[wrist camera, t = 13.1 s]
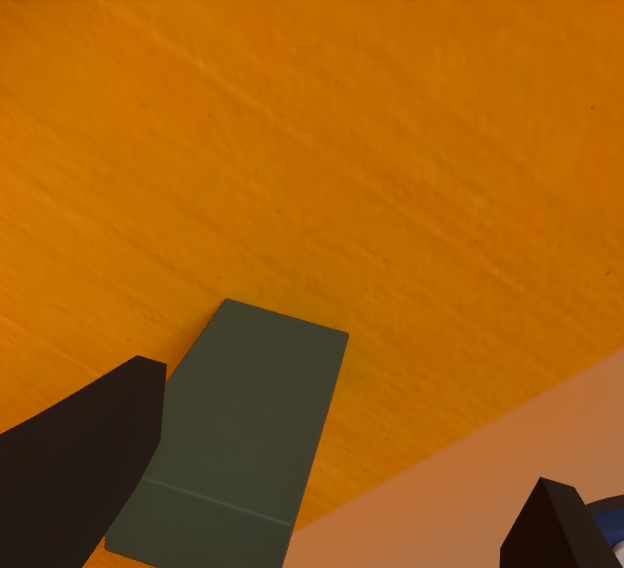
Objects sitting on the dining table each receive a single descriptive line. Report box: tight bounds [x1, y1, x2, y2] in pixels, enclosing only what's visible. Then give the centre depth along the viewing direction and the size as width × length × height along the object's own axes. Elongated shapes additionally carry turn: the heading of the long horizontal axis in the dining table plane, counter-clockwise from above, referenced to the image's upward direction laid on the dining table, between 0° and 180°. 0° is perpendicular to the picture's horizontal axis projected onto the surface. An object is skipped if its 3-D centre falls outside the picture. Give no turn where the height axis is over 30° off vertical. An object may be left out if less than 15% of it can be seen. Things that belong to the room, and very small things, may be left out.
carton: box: [105, 299, 349, 568], centre depth 19 cm, size 9×5×4 cm
